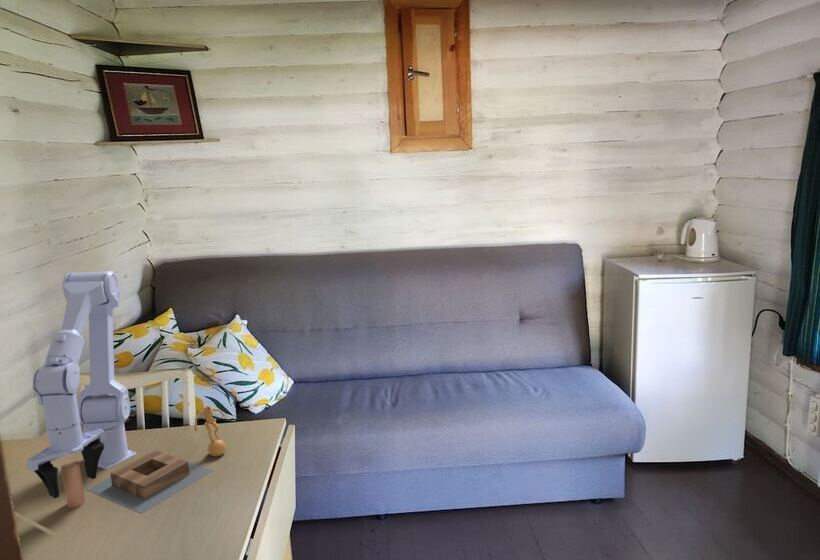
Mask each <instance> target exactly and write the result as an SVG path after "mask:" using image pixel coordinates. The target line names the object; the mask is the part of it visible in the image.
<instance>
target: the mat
mask: <svg viewBox="0 0 820 560" xmlns="http://www.w3.org/2000/svg"><path fill="white" fill-rule="evenodd" d="M188 466H189V475H187V476H185V477H184V478H182V479H180V480H178V481H177V482H175V483H173V484H172V485H170V486H168V487H166V488H165V489H163V490H161V491H160V492H158V493H156V494H154V495H153V496H151V497H149V498H148V499H146V500H145V499H143V498H140V497H138V496H136V495H133V494H131V493H128V492H126V491H124V490H121V489H119V488H117V487H114V486H112V481H111V476H110V477H108V478H107V479H104V480H102V481H100V482H99V483H96V484H95V485H93V486H90V487H89V488H87V489H86V491H89V492H91V493H93V494H95V495H98V496H99V497H102V498H105V499H106V500H110V501H111V502H114V503H116V504H118V505H121V506H123V507H125V508H127V509H130V510H132V511H134V512H137V513H139V514H141V515H142V514H143V513H146V512H147V511H149V510H150V509H152V508H154V507H155V506H157V505H159V504H160V503H162V502H164V501H165V500H167V499H169V498H170V497H172V496H173V495H176V494H177V493H178V492H180V491H182V490H184V489H185V488H187V487H189V486H190V485H192V484H194V483H195V482H197V481H199V480H200V479H202V478H203V477H205V476H207V475H208V474H210V473H212V472H213V471H214V470H213V469H210V468H207V467H204V466H201V465H198V464H196V463H193V462H191V461H188ZM153 472H155V471H153ZM153 472H151V473H153ZM151 473H149V474H148V475H150V474H151ZM148 475H146V476H148Z"/></svg>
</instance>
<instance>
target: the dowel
mask: <svg viewBox="0 0 820 560" xmlns="http://www.w3.org/2000/svg"><path fill="white" fill-rule="evenodd" d="M60 470H61V476H62V481H63V487H64V494H65V500H66V505H67V508H69V509H74V508H79V507H81V506H83V505H84V504H85V503H86V497H85V491H84V484H83V477H82V471H81V465H80V461H78V460H72V461H68V462H65V463H63V464H61V466H60Z"/></svg>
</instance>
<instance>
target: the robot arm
mask: <svg viewBox="0 0 820 560" xmlns="http://www.w3.org/2000/svg"><path fill="white" fill-rule="evenodd" d="M62 291H63V296H64V298H65V301H66V306H65V311H64V316H63V322H62V325H61V326H62V327H61V331H59V332H56V333H55V334H54V335H52V336H53V337H52V339H51V342H50V345H49V349H48V351H47V354H46V357H45V360H44V364H43V366H41V367H40V368H38V369H36V371H35V373H34V374H33V375H34V376H33V378H32V390H33V393H34V395H35V396H36V397H37V399H38V403H39V405H40V406H42V409H43V414H44V420H45V426H46V432H47V437H48V444H49V446H48V447H46V448H45V449H42V450H41V451H40V452H38V453H36V454H34V455H33V456H31V457H29V458H26V460H25V462H26V467H27V469H28V470H29V471H31V472H34V473H35V474H36V475H37V476H38V477H39V479H40V480H41V481H42V483H43V484H44V486H45V488H46V489H47V492H48V494H49V496H50V497H52V498H54V499H56V498H59V497H60V490H59V485H58V472H59V471H58V470H59V469H58V467H55V466H54V464H53V463H52V462H53V461H56V460H58V459H60V458H62V457H64V456H67V455H71V454H73V455H76V454H79V453H80V452H81V454H82V455H81V456H82V457H81V461H82V462H84V469H85V474H86V477H87V478H89V479H91V480H95V479H97V472H98V467H99V468H101V469H104V470H107V469H110V468H112V467H114V466H116V465H118V464H119V463H121V462H124V461H126V460H128V459H129V458H132V457H134V456H135V455H137V452H136V451H132V450H131V449H128V442H127V435H126V428H125V422H126V421H127V419H128V418H129V416H130V413H131V401H130V397H129V390H128V388H127V387H126V386H125V385H123V384H122V383H120V382H118V381H117V380H116V379H115V364H114V363H115V360H114V359H115V357H114V356H115V352H114V348H115V347H114V318H113V317H114V309H115V308H118V307H120V281H119V279H118V277H117V274H116V273H115V272H114V271H113V270H106V271H90V272H89V271H87V272H84V271H83V272H73V271H72V272H67V273H66V274H65V276H64V277H63V279H62ZM87 320H88V341H89V344H88V345H89V346H88V347H89V379H90V380H89V381H90V382H89V384H88V385H87V386H86V387H84V388H83V389H81V391H80V392H79V395H78V399H77V390H79V386H80V378H81V377H80V376H81V375H80V371H81V367H80V365H79V364H80V363H79V362H80V359H81V356H82V353H83V349H84V345H85V339H84V337H83V336H82V332H83V330H84V327H85V326H86V322H87ZM81 425H84V426H83V428H82V426H81Z"/></svg>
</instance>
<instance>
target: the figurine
mask: <svg viewBox="0 0 820 560" xmlns="http://www.w3.org/2000/svg"><path fill="white" fill-rule="evenodd" d="M214 412H219V413H220V414H221V415H222V416H223V417H225V419H226V420H228V418H227V416H226V414H225V413H224V412H223V411H222V410H221V409H220V408H215V407H212V406H210V405H207V406H203V407H202V409H201V411H200V412H199V414H197V415H196V416H195V417H194V432H198V430H199V429H198V428H197V426H198V419H199V418H200V417H202V416H203V417H204V418H205V422H204V427H205V428H206V430H207V431H208V433H207V435H208V436H209V437H208V438H209V439H210V442H209V444H208V446H207V452H208V453H209V454H210V455H211V456H212V457H220V456H222V455H224V453H225V451H226V450H227V448H226V447H227V446H226V442H225V441H223V439H221V438H220V437H219V435H218V433H217V432H218V431H219V428H220V427H219V425H218V424H217V422H216V418H213V414H214ZM213 428H214V437H215V439H213V437H212V429H213Z"/></svg>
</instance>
